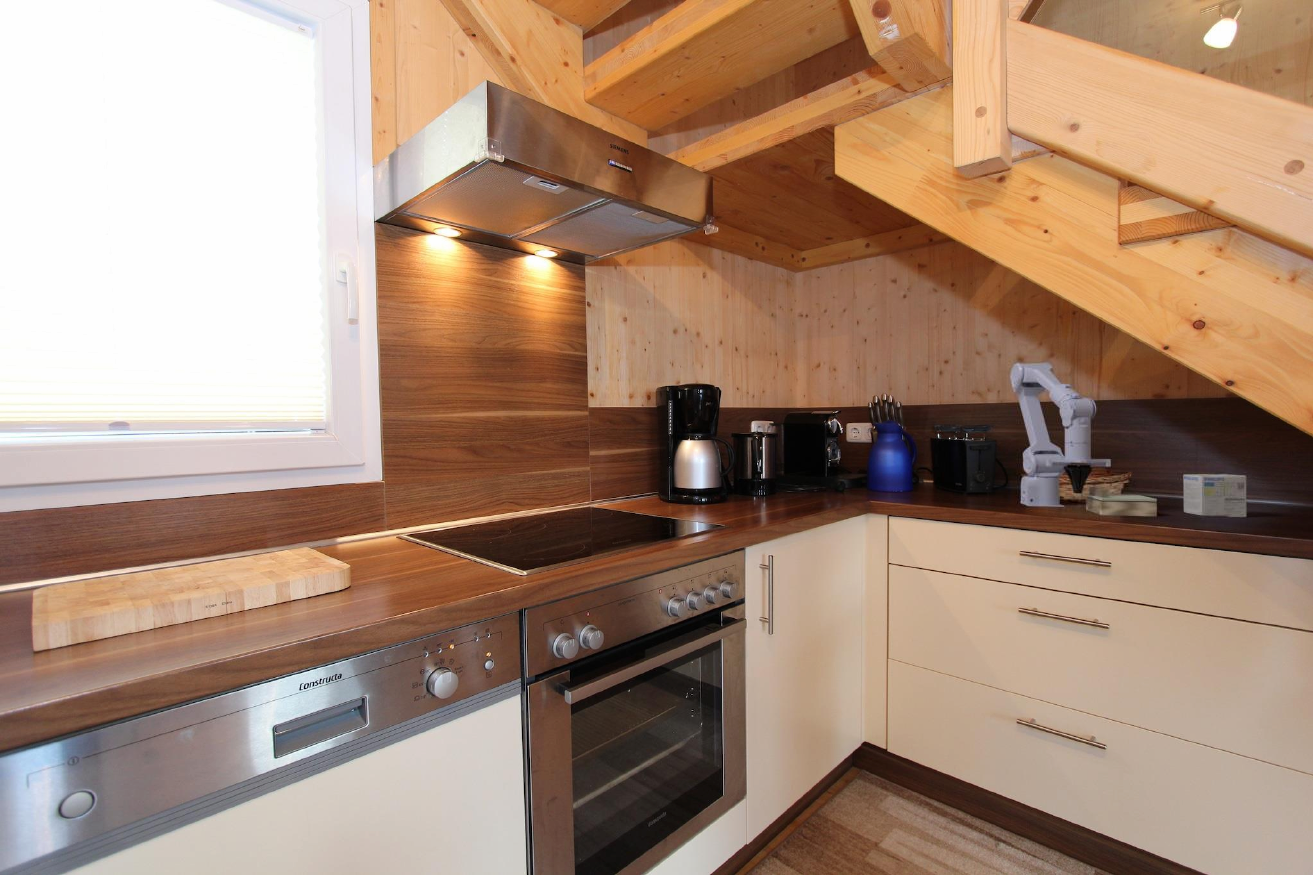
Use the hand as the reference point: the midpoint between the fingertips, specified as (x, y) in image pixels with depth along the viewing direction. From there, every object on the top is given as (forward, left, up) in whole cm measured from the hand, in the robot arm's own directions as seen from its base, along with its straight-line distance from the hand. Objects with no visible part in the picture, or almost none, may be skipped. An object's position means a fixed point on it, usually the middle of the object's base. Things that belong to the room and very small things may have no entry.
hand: (1077, 493), depth 160 cm
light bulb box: (+32, +3, -6) cm, 32 cm away
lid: (+10, 0, -1) cm, 10 cm away
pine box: (+10, 0, -6) cm, 11 cm away
